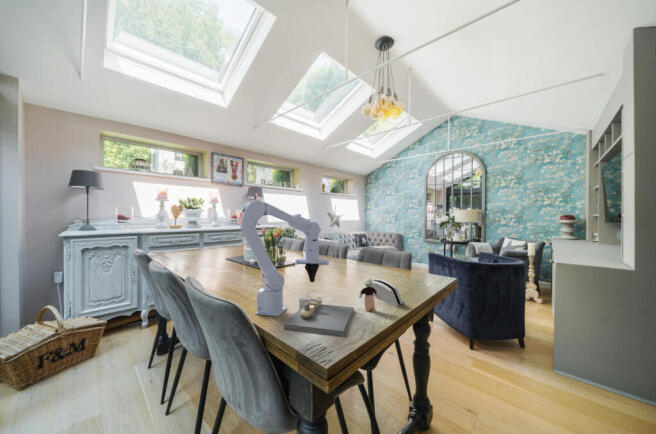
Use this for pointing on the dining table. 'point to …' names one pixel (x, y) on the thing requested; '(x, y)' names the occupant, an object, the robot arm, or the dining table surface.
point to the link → (309, 309)
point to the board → (322, 320)
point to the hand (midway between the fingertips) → (312, 281)
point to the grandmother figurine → (369, 295)
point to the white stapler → (387, 292)
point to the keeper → (307, 300)
